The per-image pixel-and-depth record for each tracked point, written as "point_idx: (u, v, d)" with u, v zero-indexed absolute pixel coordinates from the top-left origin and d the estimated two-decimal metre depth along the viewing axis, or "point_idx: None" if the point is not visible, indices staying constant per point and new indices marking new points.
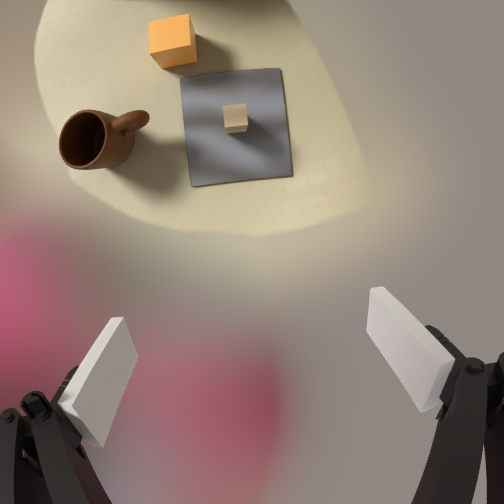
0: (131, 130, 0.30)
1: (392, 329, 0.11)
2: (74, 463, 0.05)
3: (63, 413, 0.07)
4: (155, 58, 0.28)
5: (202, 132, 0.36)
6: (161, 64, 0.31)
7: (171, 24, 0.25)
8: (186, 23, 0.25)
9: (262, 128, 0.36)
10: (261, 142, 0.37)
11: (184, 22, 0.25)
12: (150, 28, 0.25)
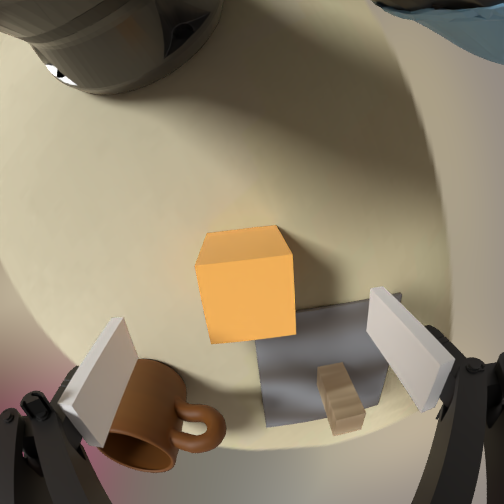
0: None
1: (392, 329, 0.11)
2: (74, 463, 0.05)
3: (63, 413, 0.07)
4: None
5: (285, 385, 0.26)
6: None
7: (252, 281, 0.15)
8: (287, 282, 0.15)
9: (360, 373, 0.26)
10: (355, 386, 0.27)
11: (283, 279, 0.15)
12: (202, 284, 0.15)
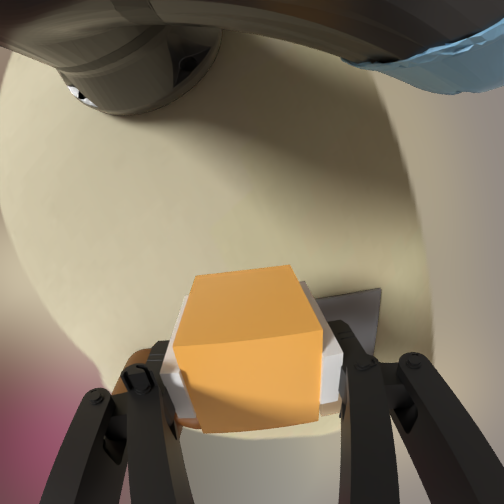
0: None
1: None
2: (167, 445, 0.06)
3: (161, 385, 0.09)
4: None
5: None
6: None
7: (261, 367, 0.10)
8: (312, 366, 0.10)
9: None
10: None
11: (306, 363, 0.10)
12: (185, 370, 0.09)
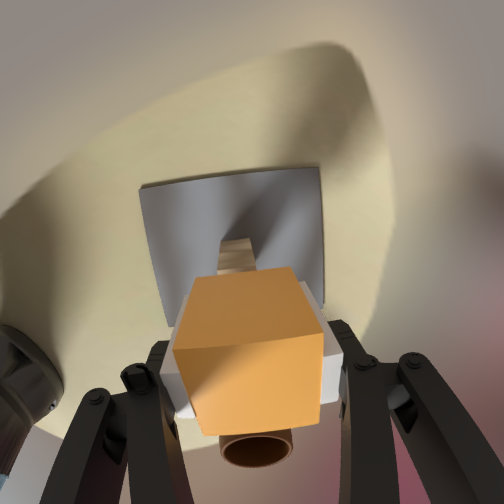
0: None
1: None
2: (167, 445, 0.06)
3: (161, 385, 0.09)
4: None
5: None
6: None
7: (261, 370, 0.09)
8: (313, 368, 0.10)
9: (244, 213, 0.25)
10: (266, 214, 0.25)
11: (307, 366, 0.10)
12: (185, 373, 0.09)
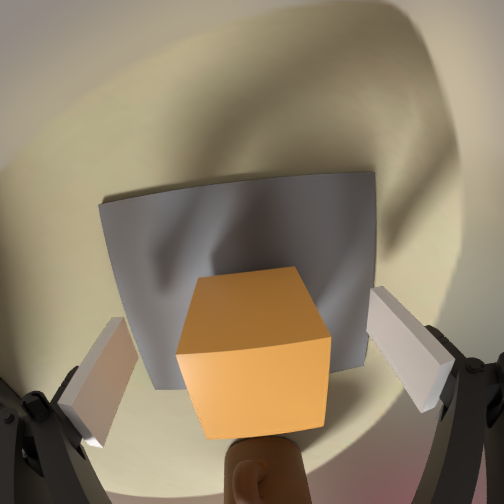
0: (261, 475, 0.16)
1: (392, 329, 0.11)
2: (74, 463, 0.05)
3: (63, 413, 0.07)
4: None
5: None
6: None
7: (267, 375, 0.09)
8: (320, 373, 0.09)
9: (261, 242, 0.16)
10: (296, 244, 0.16)
11: (313, 370, 0.09)
12: (189, 378, 0.09)
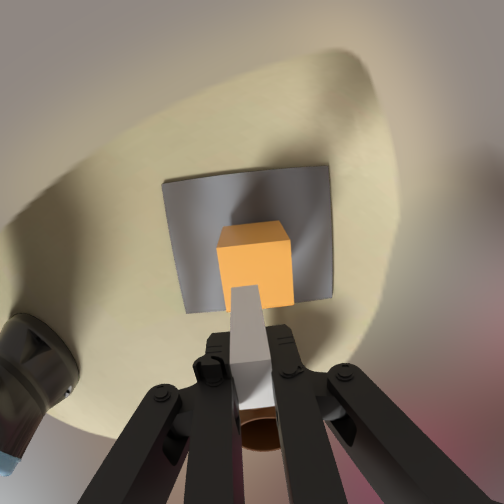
0: None
1: None
2: (233, 442, 0.07)
3: None
4: None
5: None
6: None
7: (260, 260, 0.20)
8: (287, 261, 0.20)
9: (259, 207, 0.27)
10: (280, 208, 0.27)
11: (283, 259, 0.20)
12: (221, 262, 0.20)
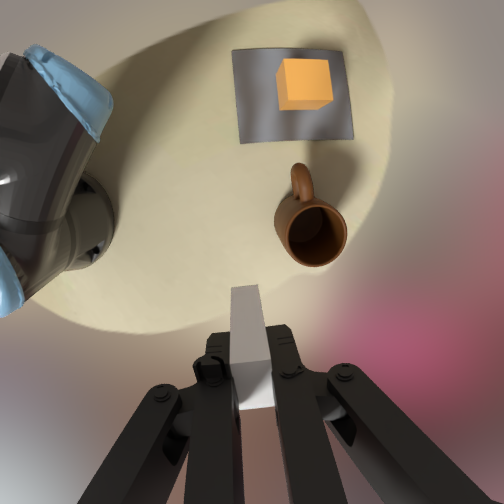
0: None
1: None
2: (233, 442, 0.07)
3: None
4: (287, 103, 0.29)
5: (302, 122, 0.35)
6: (284, 107, 0.32)
7: (310, 68, 0.26)
8: (326, 71, 0.26)
9: None
10: None
11: (324, 70, 0.26)
12: (286, 67, 0.26)
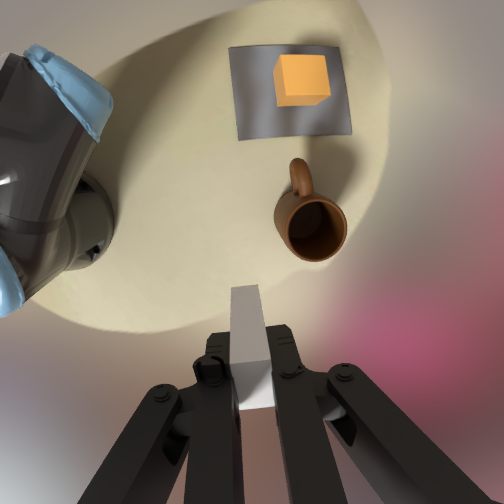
0: None
1: None
2: (233, 442, 0.07)
3: None
4: (284, 99, 0.29)
5: (300, 118, 0.35)
6: (282, 103, 0.32)
7: (307, 64, 0.26)
8: (323, 67, 0.26)
9: None
10: None
11: (321, 65, 0.26)
12: (283, 63, 0.26)
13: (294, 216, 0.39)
